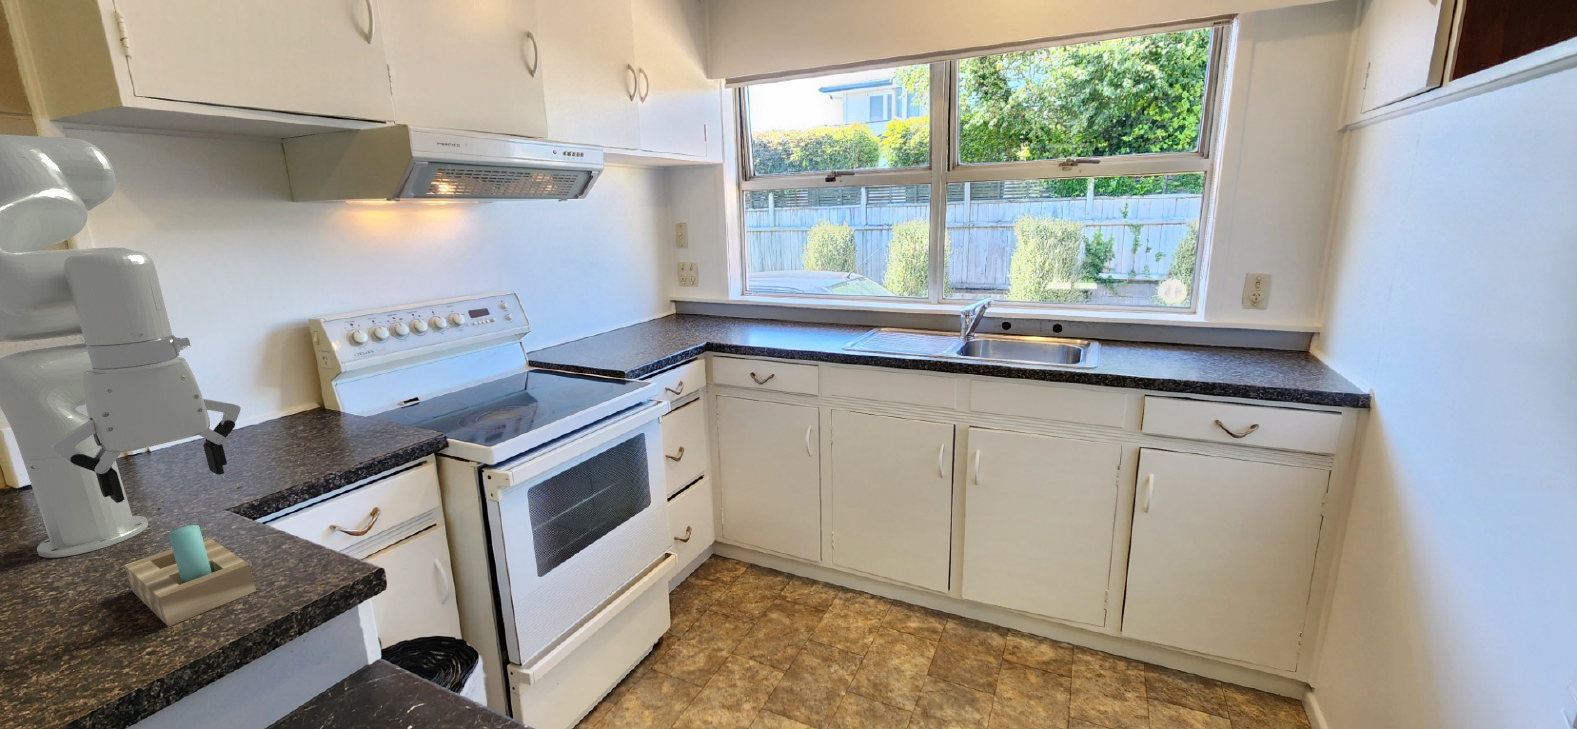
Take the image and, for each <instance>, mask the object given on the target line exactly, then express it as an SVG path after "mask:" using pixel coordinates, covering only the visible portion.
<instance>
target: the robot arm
mask: <svg viewBox="0 0 1577 729" xmlns="http://www.w3.org/2000/svg"><path fill="white" fill-rule="evenodd" d="M116 178H117V177H116V173H115V170H114V167H113V164H112V163H111V161H110V158H108V157H107V155H106V154H105V153H104V152H103V151H102V150H101V149H100V148H99V147H97V145H95V144H92V143H91V142H89V141H86V140H84V139H82V138H81V139H80V138H74V137H65V136H64V137H61V136H60V137H59V136H44V135H43V136H39V135H20V134H19V135H17V134H0V341H2V342H8V343H17V342H18V343H19V342H20V343H21V342H31V341H41V340H49V339H56V338H66V337H71V336H73V337H74V336H80V335H81V336H83V339H84V342H83V343H76V344H64V345H58V346H51V347H44V348H36V349H35V348H34V349H30V350H25V351H19V352H15V353H10V354H8V355H4V356H2V357H0V409H1V411H2V413H3V415H4V416H5V418H6V421H7V422H8V424H9V425H10V426H9V427H10V428H11V432H12V433H13V435H14V439H15V441H16V444H17V447H18V450H19V453H20V455H21V459H22V461H23V464H24V466H25V470H26V473H27V475H28V478H29V482H30V484H31V488H32V491H33V495H34V497H35V500H36V503H37V506H38V509H39V512H40V515H41V518H42V521H43V524H44V527H45V530H46V533H47V536H48V538H46V539H45V540H44V541H42V542H40V543H39V545H38V546H37V548H36V551H37V554H38V556H39V557H42V558H49V559H53V558H54V559H55V558H57V559H58V558H67V557H70V556H71V557H72V556H77V555H81V554H85V553H86V554H87V553H90V552H94V551H97V550H98V551H99V550H102V549H104V548H108V547H111V546H114V545H117V544H118V543H122V542H125V541H127V540H129V539H131V538H133V537H135V536H137V535H138V534H140V533H142V532H144V531H145V530H146V529H147V528H148V526H149V522H148V518H146V516H143V515H133V514H132V511H131V510H132V509H131V507H130V504H129V501H128V497H127V494H126V490H125V487H124V484H123V481H122V478H121V477H122V476H121V474H120V470H119V468H118V464H117V459H118V458H119V456H120V455H121V454H123V453H128V452H133V451H138V450H142V449H146V448H151V447H155V446H159V445H164V444H168V443H172V442H176V441H181V440H185V439H189V438H193V437H197V436H200V437H202V438H204V439H205V441H204V444H203V445H202V446H203V449H204V453H205V458H206V461H207V462H206V463H207V466H208V469H209V471H210V472H212V473H214V474H215V475H218V476H219V475H224V474H225V470H224V467H223V466H226V465H228V461H227V458H226V454H225V450H224V446H223V444H224V443H225V442H226V438H227V437H228V435H229V434H230V433H231V432H232V431H233V430H234V428H235V427H236V421H237V420H238V418H239V416H240V412H241V406H240V405H238V404H234V403H230V402H229V403H228V402H224V401H218V400H212V399H206V398H203V395H202V393H201V389H200V387H199V385H198V383H197V382H198V381H197V380H196V377H195V375H194V373H193V371H192V369H191V367H190V365H189V364H188V362H187V360H186V359H185V358H184V357H180V352H181V351H184V349H189V348H191V346H192V345H191V341H190V339H189V337H176V336H175V335H174V334H173V333H172V328H171V325H170V321H169V317H168V312H167V308H166V305H165V304H166V303H165V300H164V297H163V292H162V288H161V284H160V281H159V277H158V273H157V269H156V266H155V262H154V261H153V258H152V257H150V256H149V255H148V254H147V253H145V252H142V251H140V250H139V251H138V250H133V249H130V248H125V247H96V248H95V247H94V248H93V247H91V248H71V249H70V248H67V249H49V250H45V249H47V248H49V247H53V246H55V245H58V244H60V243H63V242H65V241H67V240H70V239H72V238H73V237H75V236H77V235H78V234H79V233H80V232H81V231H82V230H83V229H84V227H85V226H86V224H87V222H88V214H89V213H88V212H89V211H92V210H93V209H94V208H96V207H98V206H100V205H101V204H103V203H105V202H106V201H107V200H108V199H109V198H111V197H112V195H113V194H114V192H115V189H116V185H117V179H116ZM43 249H44V250H43ZM84 405H86V411H87V415H85V414H83V413H81V412H79V411H78V410H76V408H78V407H81V406H84ZM208 411H211V412H212V411H213V412H219V413H222V414H223V415H222V419H221V420H220V421H219V423H217V425H216V426H215V427H214V429H213V430H212V429H211V428H210V426H211V424H210V423H211V422H210V417H209V413H208Z"/></svg>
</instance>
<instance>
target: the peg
mask: <svg viewBox="0 0 1577 729" xmlns="http://www.w3.org/2000/svg"><path fill="white" fill-rule="evenodd" d="M167 536H168V539H169V542H170V547H171V549H172V550H173V553H174V557H175V560H176V564H177V567H178V571H179V574H180V578H181V582H182V584H183V583H186V582H189V581H192V580H194V579H197V578H200V577H202V576H205V575H208V574H210V573H212V572H211V568H210V564H209V561H208V557H207V553H206V549H205V546H204V542H203V536H202V532H201V528H200V526H199V525H198V524H190V525H186V526H182V527H179V528H175V529H174V530H172V531H170V532H169V533H168V535H167Z"/></svg>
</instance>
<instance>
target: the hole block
mask: <svg viewBox="0 0 1577 729" xmlns="http://www.w3.org/2000/svg"><path fill="white" fill-rule="evenodd" d="M202 538H203V537H202ZM203 542H204V546H205V549H206V553H207V557H208V561H209V564H210V568H211V572H212V573H210V574H208V575H205V576H202V577H200V578H197V579H194V580H192V581H189V582H186V583H183V584H182V582H181V578H180V574H179V571H178V567H177V564H176V560H175V557H174V553H173V550H172V548H171V549H169V550H168V549H167V550H165V551H162V552H159V553H156V554H153V555H149V556H147V557H144V558H141V559H138V560H136V561H132V562H128V563H127V564H123V565H124V569H125V573H126V575H127V578H128V581H129V582H128V583H129V584H130V588H131V592H132V593H133V594H135V595H136V597H137V598H139V600H141V602H142V603H144V604H145V605H146V606H147V607H148V608H149V609H150V611H151V612H153V613H154V614H155V615H156V616H157V617H158V619H160V620H161V621H162V622H163V623H164V624H165V625H166V626H167V627H171V626H172V627H173V625H176V624H179V623H181V622H184V621H186V620H189V619H191V618H193V617H196V616H198V615H200V614H201V615H202V614H203V613H206V612H208V611H211V610H213V609H217V608H218V607H221V606H223V605H225V604H229V603H230V602H233V601H235V600H238V599H240V598H243V597H244V596H247V595H250V594H252V593H254V592H257V589H256V584H255V581H254V578H253V577H254V576H253V574H252V570H251V569H252V568H251V566H250V563H248V562H247V561H245V560H244V559H242V558H240V557H239V556H238V555H237V554H235V553H233V552H232V551H230V550H229V549H227V548H226V547H225V546H223V545H221V544H220V543H218V542H217V541H215V540H214V539H212V538H211V537H209V536H207V537H206V536H205V537H204V538H203Z"/></svg>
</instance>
